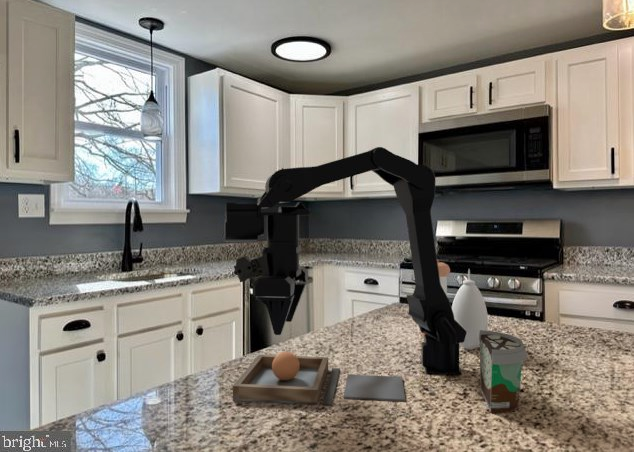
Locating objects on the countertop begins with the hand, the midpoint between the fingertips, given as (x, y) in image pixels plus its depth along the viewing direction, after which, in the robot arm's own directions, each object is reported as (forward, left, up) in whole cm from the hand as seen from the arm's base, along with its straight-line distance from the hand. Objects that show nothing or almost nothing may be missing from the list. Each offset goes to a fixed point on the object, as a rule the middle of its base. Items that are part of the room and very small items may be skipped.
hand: (283, 327), depth 78 cm
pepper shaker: (-31, -35, -10) cm, 48 cm away
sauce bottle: (-37, -25, -10) cm, 46 cm away
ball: (0, -1, -7) cm, 7 cm away
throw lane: (-7, 0, -10) cm, 12 cm away
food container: (-37, +3, -10) cm, 39 cm away
